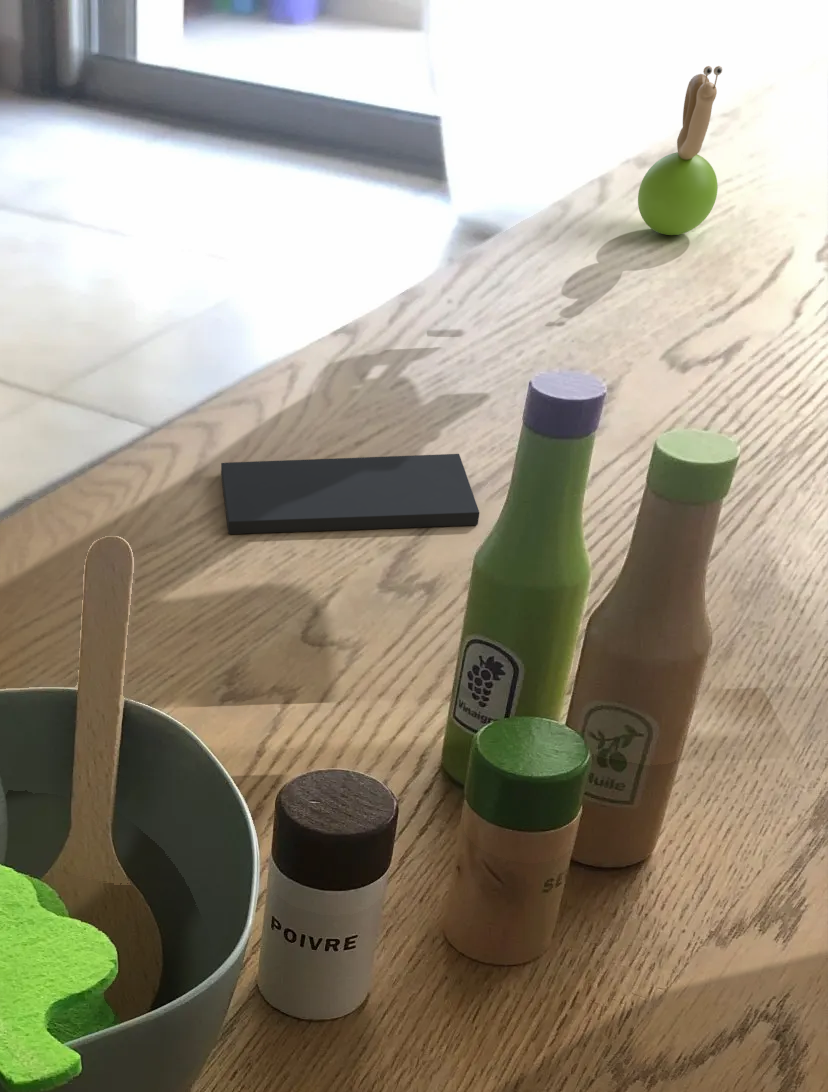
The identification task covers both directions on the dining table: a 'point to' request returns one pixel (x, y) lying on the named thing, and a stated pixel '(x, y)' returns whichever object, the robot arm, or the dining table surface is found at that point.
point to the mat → (347, 494)
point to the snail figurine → (683, 169)
